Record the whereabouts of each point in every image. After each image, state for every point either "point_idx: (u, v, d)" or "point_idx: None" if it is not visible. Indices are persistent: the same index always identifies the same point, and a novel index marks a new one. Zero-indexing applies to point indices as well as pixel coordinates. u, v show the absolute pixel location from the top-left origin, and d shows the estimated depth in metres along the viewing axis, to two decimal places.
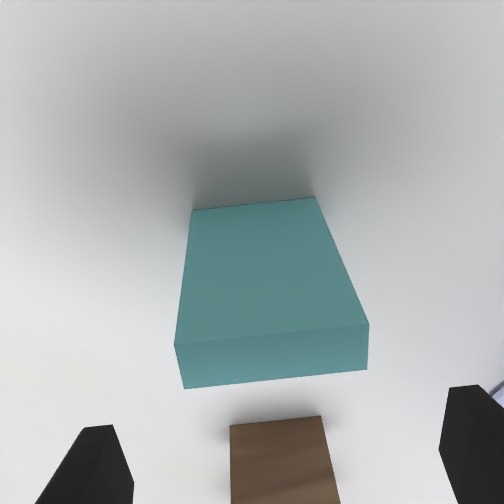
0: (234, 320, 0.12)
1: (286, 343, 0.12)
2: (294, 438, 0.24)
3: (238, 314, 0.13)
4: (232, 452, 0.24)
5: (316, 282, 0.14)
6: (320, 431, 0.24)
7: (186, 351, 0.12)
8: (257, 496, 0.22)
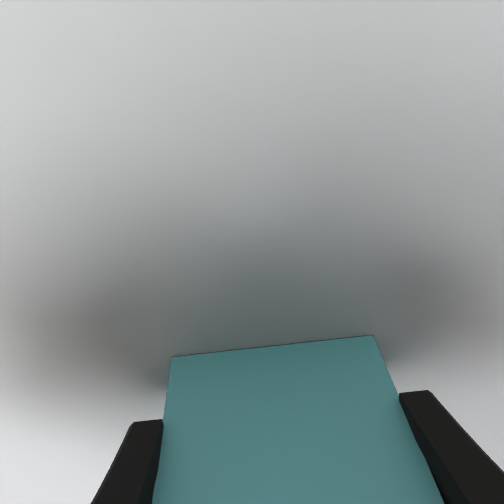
0: None
1: None
2: None
3: None
4: None
5: None
6: None
7: None
8: None
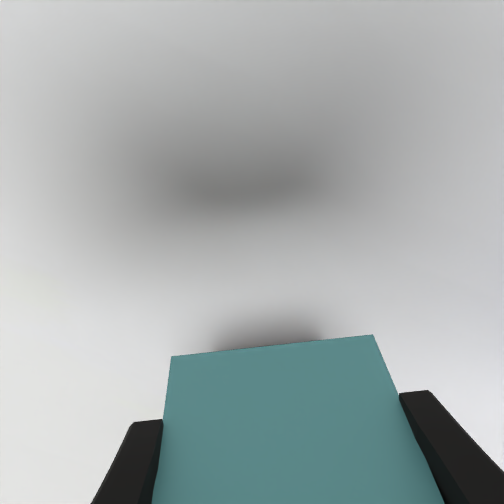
0: None
1: None
2: None
3: None
4: None
5: None
6: None
7: None
8: None
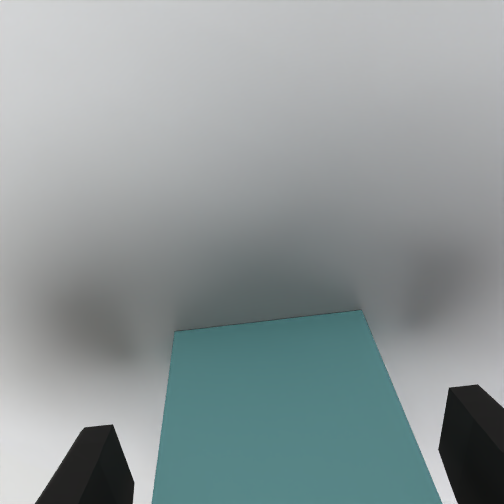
0: None
1: None
2: None
3: None
4: None
5: None
6: None
7: None
8: None
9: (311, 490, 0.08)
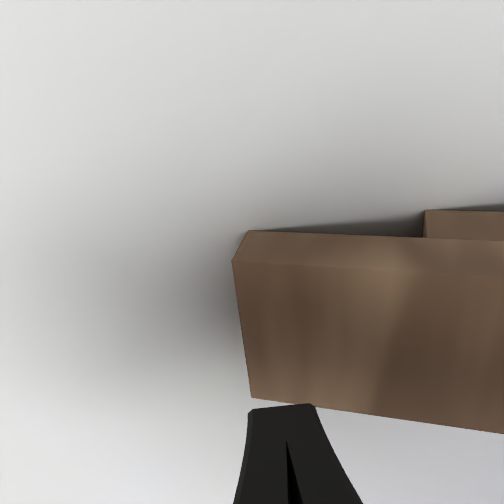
0: None
1: None
2: None
3: None
4: None
5: None
6: None
7: None
8: None
9: None
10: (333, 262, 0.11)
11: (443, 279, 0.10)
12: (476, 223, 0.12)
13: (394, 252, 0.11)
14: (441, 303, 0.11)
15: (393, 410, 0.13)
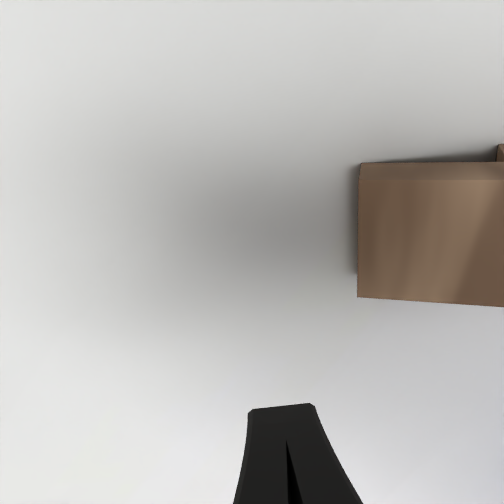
0: None
1: None
2: None
3: None
4: None
5: None
6: None
7: None
8: None
9: None
10: (437, 178, 0.15)
11: None
12: None
13: (481, 170, 0.16)
14: None
15: (472, 298, 0.17)
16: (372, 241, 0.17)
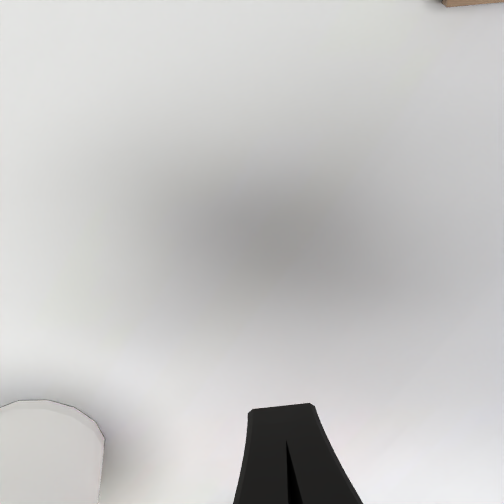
0: None
1: None
2: None
3: None
4: None
5: None
6: None
7: None
8: None
9: None
10: None
11: None
12: None
13: None
14: None
15: None
16: None
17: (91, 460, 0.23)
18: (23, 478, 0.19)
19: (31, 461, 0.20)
